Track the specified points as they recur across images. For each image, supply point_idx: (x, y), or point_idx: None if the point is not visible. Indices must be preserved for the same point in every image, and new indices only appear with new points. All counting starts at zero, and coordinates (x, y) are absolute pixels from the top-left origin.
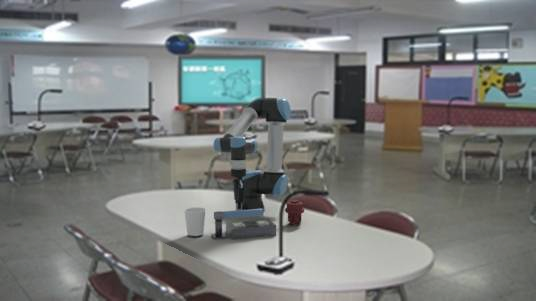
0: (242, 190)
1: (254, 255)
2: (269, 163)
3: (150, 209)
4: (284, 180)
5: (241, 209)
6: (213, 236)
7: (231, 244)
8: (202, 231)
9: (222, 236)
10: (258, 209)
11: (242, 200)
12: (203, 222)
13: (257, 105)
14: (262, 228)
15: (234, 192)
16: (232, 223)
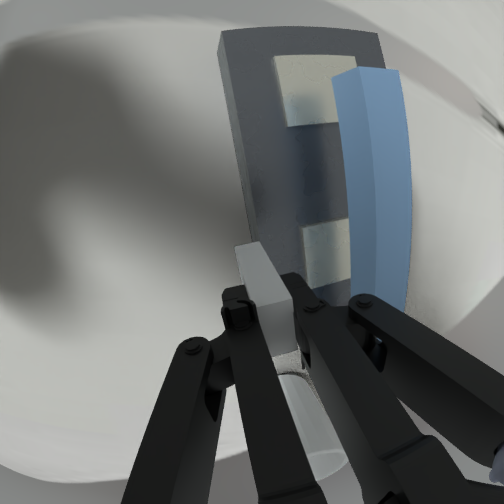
0: (496, 390)
1: (498, 203)
2: None
3: (13, 444)
4: None
5: (270, 264)
6: None
7: (419, 264)
8: (301, 383)
9: (344, 305)
10: (390, 110)
11: (384, 308)
12: (312, 408)
13: None
14: None
15: (211, 460)
16: (312, 288)
